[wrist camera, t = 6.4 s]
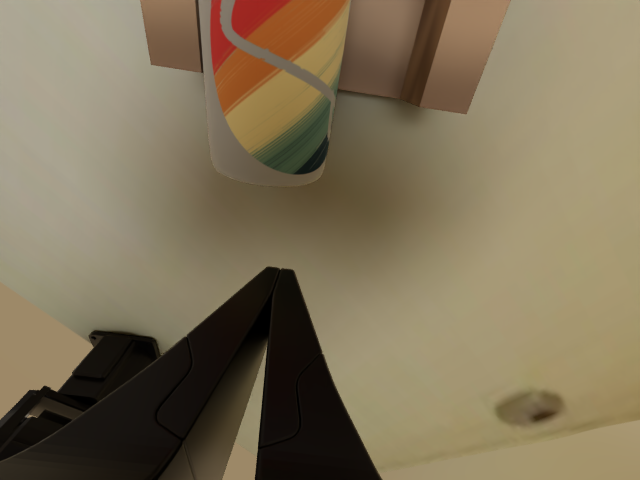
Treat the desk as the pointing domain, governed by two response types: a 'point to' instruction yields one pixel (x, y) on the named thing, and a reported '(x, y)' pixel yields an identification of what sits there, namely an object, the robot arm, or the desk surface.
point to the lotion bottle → (271, 86)
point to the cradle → (370, 46)
